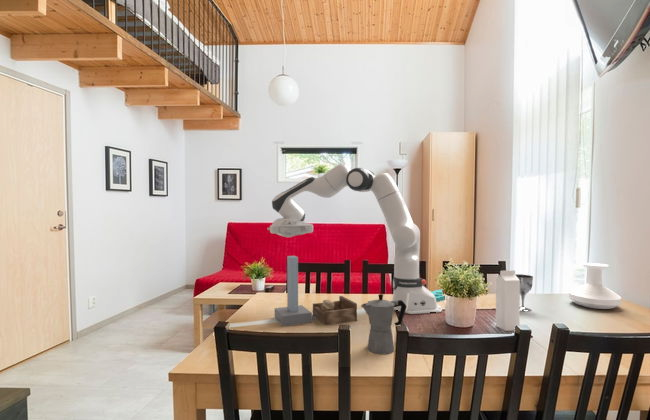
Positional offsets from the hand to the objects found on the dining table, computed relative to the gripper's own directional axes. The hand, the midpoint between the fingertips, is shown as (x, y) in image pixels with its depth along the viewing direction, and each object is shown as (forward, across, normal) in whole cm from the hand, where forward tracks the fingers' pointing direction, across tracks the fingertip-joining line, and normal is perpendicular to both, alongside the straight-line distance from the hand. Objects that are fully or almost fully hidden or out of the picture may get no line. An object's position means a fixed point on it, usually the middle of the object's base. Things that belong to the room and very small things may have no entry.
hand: (296, 229), depth 168 cm
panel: (+14, -6, +32) cm, 35 cm away
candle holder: (+49, +129, +36) cm, 143 cm away
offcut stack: (+18, +8, +36) cm, 41 cm away
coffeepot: (+55, +12, +36) cm, 66 cm away
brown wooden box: (+18, +10, +36) cm, 41 cm away
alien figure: (+10, +77, +37) cm, 86 cm away
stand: (+14, -6, +36) cm, 39 cm away
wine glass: (+40, +94, +36) cm, 108 cm away
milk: (+56, +66, +36) cm, 93 cm away
